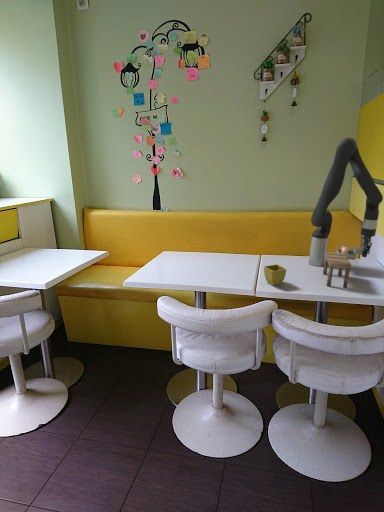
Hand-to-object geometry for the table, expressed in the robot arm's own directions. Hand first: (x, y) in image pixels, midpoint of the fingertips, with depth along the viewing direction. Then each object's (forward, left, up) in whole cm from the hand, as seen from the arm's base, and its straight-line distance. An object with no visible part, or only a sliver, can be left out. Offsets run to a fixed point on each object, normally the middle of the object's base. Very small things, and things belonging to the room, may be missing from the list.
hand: (363, 256), depth 197 cm
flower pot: (+32, -49, -10) cm, 59 cm away
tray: (0, -6, -1) cm, 6 cm away
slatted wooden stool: (+19, -17, -10) cm, 27 cm away
